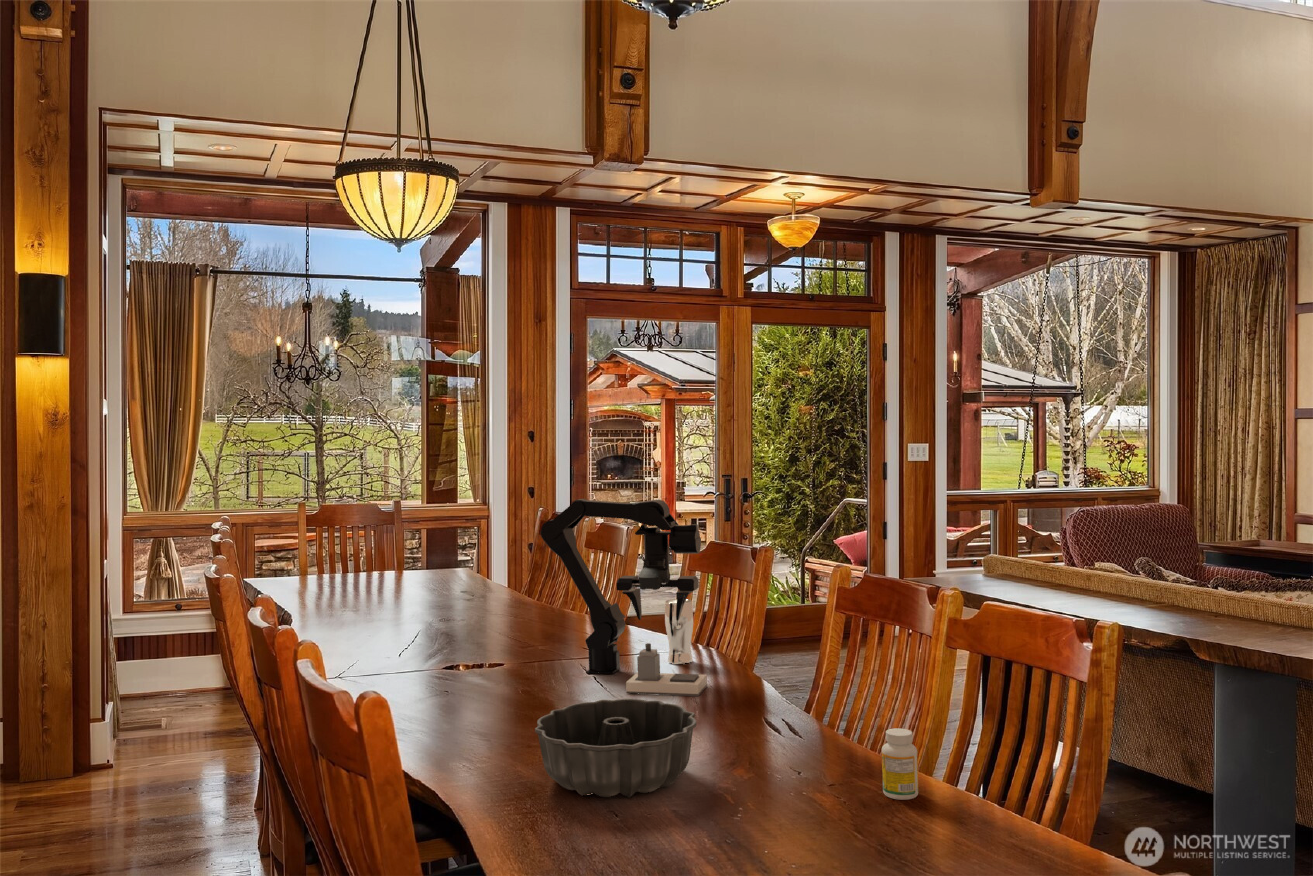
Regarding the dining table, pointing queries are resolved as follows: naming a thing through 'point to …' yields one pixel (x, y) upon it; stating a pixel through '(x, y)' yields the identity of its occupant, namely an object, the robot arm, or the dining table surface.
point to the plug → (648, 664)
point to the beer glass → (679, 631)
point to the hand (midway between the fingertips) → (658, 620)
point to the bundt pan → (616, 745)
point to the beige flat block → (669, 685)
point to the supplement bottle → (899, 765)
